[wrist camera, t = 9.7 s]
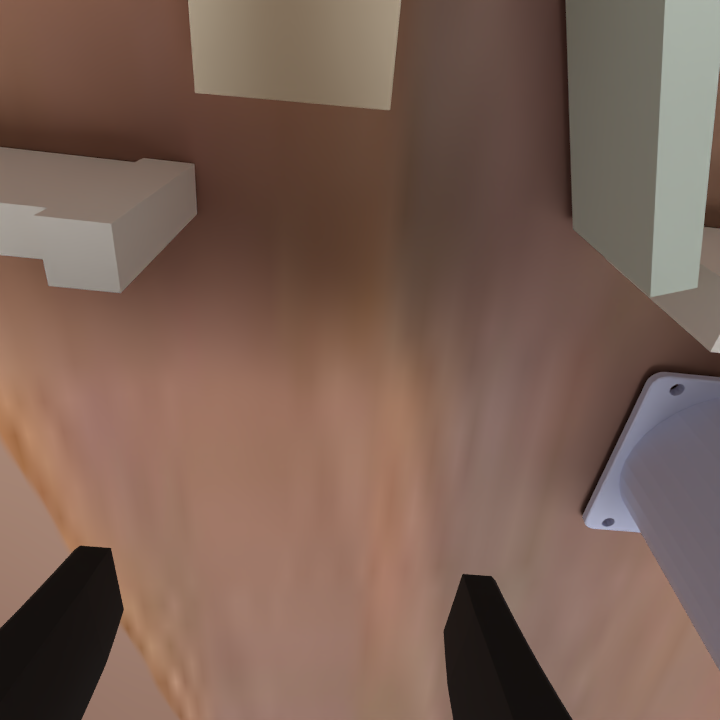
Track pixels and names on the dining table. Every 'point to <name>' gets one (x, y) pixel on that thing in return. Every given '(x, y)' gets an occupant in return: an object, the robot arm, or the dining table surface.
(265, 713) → the dining table surface
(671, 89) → the door
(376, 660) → the dining table surface
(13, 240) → the wall frame
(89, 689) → the robot arm
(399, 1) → the birch block
